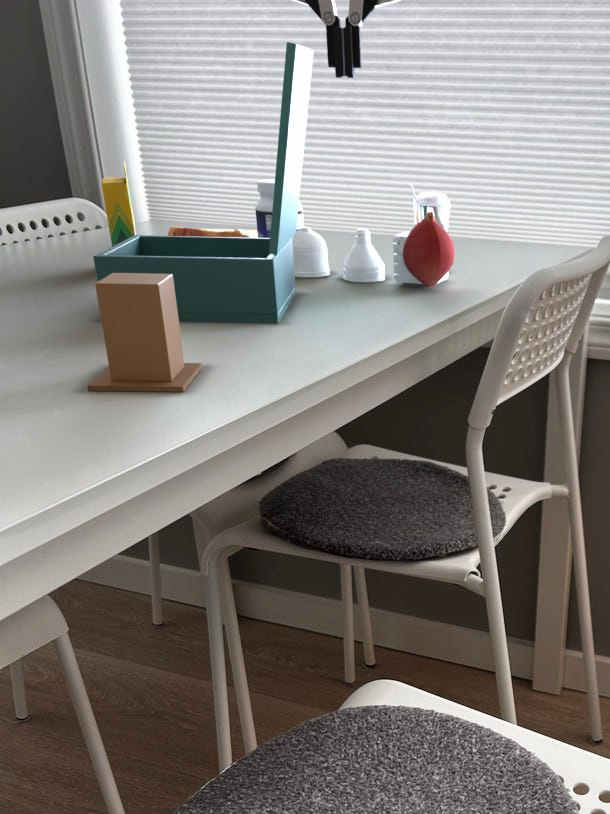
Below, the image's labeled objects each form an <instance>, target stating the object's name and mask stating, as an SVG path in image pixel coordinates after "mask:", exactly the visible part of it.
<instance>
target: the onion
mask: <svg viewBox="0 0 610 814" xmlns="http://www.w3.org/2000/svg"><path fill="white" fill-rule="evenodd" d="M409 231H410V233H409V234H408V236H407V238H406V241H405V243H404V246H403V259H404V264H405V265H406V267H407V269H408V271H409V272H410V273H411V274H412V275H413V276H414V277H415V278H416V279H417V280H419V281H420V282H421V283H422V284H421V285H422V286H424V287H426V288H428V289H429V288H431V289H432V288H434V287H436V285H437V284H439V283H440V282H439V281H440V280H441V279H442V278H443V277H444V275H445V274H446V273H447V272H450V270H451V269H452V267H453V265H454V262H455V256H456V251H455V245H454V242H453V239H452V238H451V236H450V234H449V232H448V230H447V231H446V230H445V229H444V228H443V227H442V226H441V225H439V224H438V223H437V222H436V221H435V217H434V215H433V212H428V213H427V215H426V216H425V218H424V219H422V220H421V221H420V222H419V223H418V224H417V225H415V224H414V226H413V227H412V228H411V230H409ZM438 282H439V283H438Z"/></svg>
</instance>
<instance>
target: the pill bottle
mask: <svg viewBox="0 0 610 814" xmlns="http://www.w3.org/2000/svg"><path fill="white" fill-rule="evenodd" d="M256 185H257V186H256V187H257V192H258V193H259V194H260V199H259V200H258V201H257V202H256V204H255V206H254V207H255V221H256V230H257V232H258V238H270V232H271V220H272V209H273V197H274V185H275V178H266V179H260V180H257V181H256ZM303 209H304V208H303V205H302V203H301V202H300V201H299V204H298V214H297V225H296V232H298V231H301V227H305V223H304V222H305V221H304V210H303Z"/></svg>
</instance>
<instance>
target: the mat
mask: <svg viewBox="0 0 610 814" xmlns="http://www.w3.org/2000/svg"><path fill="white" fill-rule="evenodd" d="M184 365H185V367H184V368H183V369H182V370H181V371H180V373H179V374H178V375H177V376H176V377H175V378H174V380H173V381H172V382H155V381H112V380H111V375H110V369H109V366H107V368H105V369H104V370H103V371H101V373H99V374H98V375H97V376H96V377H95V378H94V379H93V380H91V381H90V382H89V383H88V384H87V385H86V388H87V391H88V392H91V391H93V392H159V393H161V392H164V393H165V392H167V393H169V392H170V393H171V392H172V393H175V392H176V393H183V392H185V390H187V388H188V387H189V386H190V384H191V383H192V382H193V381H194V379H195V378H196V377H197V375H198V374H199V373H200V372H201V370H202V369H203V363H202V362H184Z"/></svg>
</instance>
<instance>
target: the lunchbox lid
mask: <svg viewBox="0 0 610 814" xmlns="http://www.w3.org/2000/svg"><path fill="white" fill-rule="evenodd" d="M284 60H285V61H284V68H283V69H284V70H283V80H282V93H281V103H280V104H281V105H280V115H279V116H280V117H279V126H278V127H279V128H278V139H277V140H278V141H277V152H276V163H275V176H274V179H275V185H274V197H273V209H272V220H271V232H270V244H269V254H274V255H277V254H278V253H279V252H280V251H281V250H282V249H283V248H284V247H285V245H286V244H287V243H288V242H289V241H290V240H291V239H292V238H293V236H294V235H295V234H296V225H297V214H298V204H299V202H300V192H301V182H302V173H303V163H304V153H305V141H306V133H307V123H308V122H307V121H308V113H309V112H308V111H309V101H310V91H311V82H312V81H311V80H312V70H313V60H314V49H312V48H309V47H306V46H304V45H301V44H298V43H293V42H289V41H287V42H286V47H285V58H284Z"/></svg>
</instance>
